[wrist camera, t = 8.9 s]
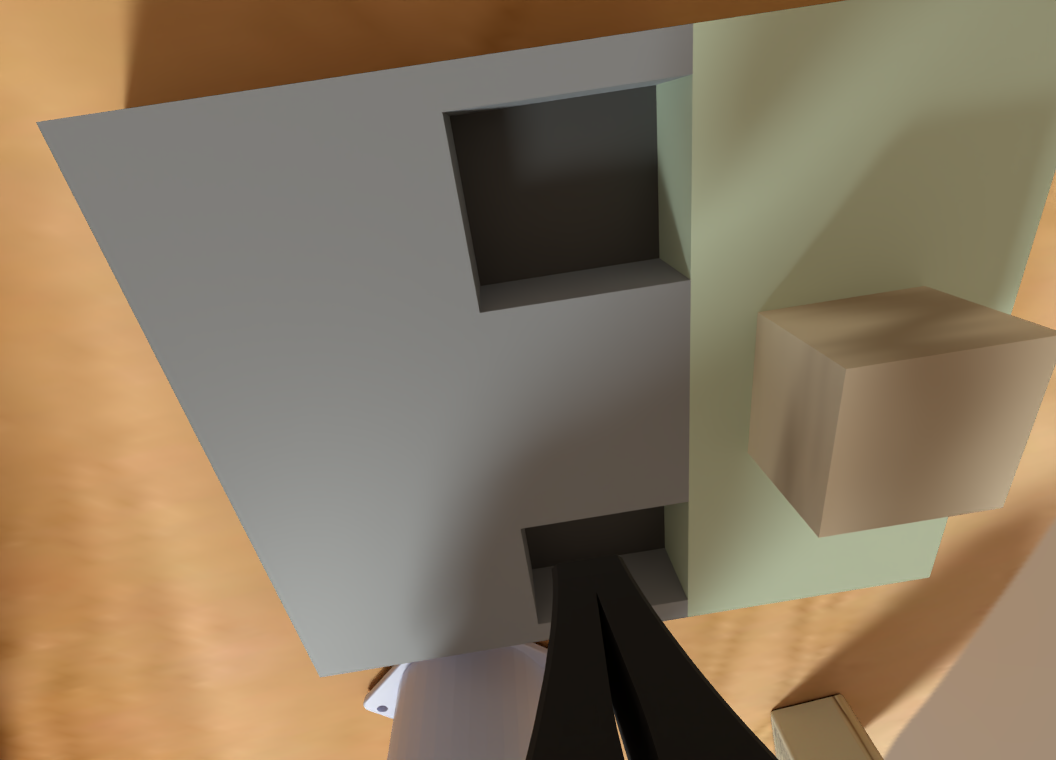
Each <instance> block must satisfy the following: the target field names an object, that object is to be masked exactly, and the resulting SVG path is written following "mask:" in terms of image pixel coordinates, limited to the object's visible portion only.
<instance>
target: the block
mask: <svg viewBox="0 0 1056 760" xmlns="http://www.w3.org/2000/svg"><path fill="white" fill-rule="evenodd" d="M1055 364H1056V330H1053V329H1050V328H1047V327H1044V326H1041V325H1038V324H1036V323H1033V322H1030V321H1027V320H1024V319H1021V318H1018V317H1015V316H1012V315H1009V314H1006V313H1003V312H1000V311H997V310H994V309H991V308H989V307H986V306H983V305H980V304H977V303H974V302H971V301H968V300H965V299H962V298H959V297H956V296H953V295H950V294H947V293H944V292H942V291H939V290H936V289H933V288H930V287H927V286H921V287H914V288H908V289H902V290H895V291H889V292H883V293H876V294H870V295H864V296H857V297H851V298H845V299H838V300H832V301H826V302H819V303H813V304H807V305H800V306H794V307H788V308H781V309H775V310H769V311H762V312H758V315H757V329H756V343H755V357H754V371H753V385H752V399H751V413H750V427H749V441H748V454H749V455H750V456H751V457H752V458H753V460H754V461H755V462H756V463H757V464H758V466H759V467H760V468H761V469H762V470H763V472H764V473H765V474H766V475H767V476H768V478H769V479H770V480H771V481H772V482H773V484H774V485H775V486H776V487H777V488H778V490H779V491H780V492H781V493H782V494H783V496H784V497H785V498H786V499H787V500H788V502H789V503H790V504H791V505H792V506H793V508H794V509H795V510H796V511H797V512H798V514H799V515H800V516H801V517H802V518H803V520H804V521H805V522H806V523H807V524H808V526H809V527H810V528H811V529H812V530H813V532H814V533H815V534H816V535H817V536H818V538H821V537H827V536H833V535H839V534H845V533H852V532H858V531H864V530H870V529H876V528H882V527H888V526H894V525H901V524H907V523H913V522H919V521H925V520H931V519H937V518H943V517H950V516H956V515H962V514H968V513H974V512H980V511H986V510H993V509H999V508H1003V506H1004V503H1005V500H1006V498H1007V495H1008V492H1009V489H1010V487H1011V484H1012V481H1013V479H1014V476H1015V473H1016V470H1017V468H1018V465H1019V462H1020V459H1021V457H1022V454H1023V451H1024V449H1025V446H1026V443H1027V440H1028V438H1029V435H1030V432H1031V430H1032V427H1033V424H1034V421H1035V419H1036V416H1037V413H1038V410H1039V408H1040V405H1041V402H1042V400H1043V397H1044V394H1045V391H1046V389H1047V386H1048V383H1049V381H1050V378H1051V375H1052V372H1053V370H1054V367H1055Z"/></svg>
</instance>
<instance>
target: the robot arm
mask: <svg viewBox="0 0 1056 760" xmlns="http://www.w3.org/2000/svg"><path fill="white" fill-rule="evenodd" d="M552 579H553V603H552V617H551V628H550V636H549V643H548V649H547V648H544V647H542V646H540V645H537V644H535V643H527V644H520V645H514V646H508V647H502V648H496V649H490V650H484V651H478V652H472V653H466V654H459V655H453V656H447V657H441V658H435V659H429V660H423V661H417V662H411V663H405V664H398V665H394V666H393V667H392V668H391V669H390V670H389V671H388V672H387V673H386V674H385V676H384V677H383V678H382V679H381V680H380V681H379V682H378V683H377V684H376V685H375V686H374V687H373V689H372V690H371V691H370V692H369V693H368V694H367V695H366V696H365V699H364V707H365V708H366V709H367V710H369V711H372V712H375V713H378V714H381V715H384V716H386V717H389V718H392V719H393V726H392V732H391V739H390V745H389V751H388V758H387V760H624V756H623V752H622V748H621V744H620V740H619V736H618V731H617V727H616V722H615V717H616V721H617V724H618V728H619V731H620V734H621V738H622V741H623V744H624V748H625V751H626V754H627V758H628V760H778V759H777V758H776V757H775V755H774V754H773V753H772V752H771V751H770V750H769V749H768V748H767V747H766V746H765V745H764V744H763V743H762V742H761V740H760V739H759V738H758V737H757V736H756V735H755V734H754V733H753V732H752V731H751V730H750V729H749V728H748V726H747V725H746V724H745V723H744V722H743V721H742V720H741V719H740V717H739V716H738V715H737V714H736V713H735V712H734V711H733V710H732V708H731V707H730V706H729V705H728V704H727V703H726V701H725V700H724V699H723V698H722V697H721V696H720V694H719V693H718V692H717V691H716V690H715V688H714V687H713V686H712V685H711V684H710V682H709V681H708V680H707V679H706V678H705V676H704V675H703V674H702V673H701V672H700V670H699V669H698V668H697V666H696V665H695V664H694V663H693V661H692V660H691V659H690V658H689V656H688V655H687V654H686V652H685V651H684V650H683V648H682V647H681V646H680V645H679V643H678V642H677V641H676V639H675V638H674V637H673V635H672V634H671V633H670V631H669V630H668V629H667V627H666V626H665V624H664V623H663V622H662V620H661V619H660V617H659V616H658V615H657V613H656V612H655V610H654V609H653V607H652V606H651V604H650V603H649V601H648V600H647V598H646V597H645V595H644V594H643V592H642V591H641V589H640V588H639V586H638V584H637V583H636V581H635V580H634V578H633V576H632V574H631V573H630V571H629V569H628V568H627V566H626V564H625V562H624V560H623V558H622V557H620V556H619V555H617V554H615V555H609V556H602V557H596V558H590V559H584V560H577V561H571V562H565V563H558V564H556V565H555V566H554V567H553V568H552ZM614 714H615V716H614Z"/></svg>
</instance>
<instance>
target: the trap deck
mask: <svg viewBox="0 0 1056 760" xmlns="http://www.w3.org/2000/svg"><path fill="white" fill-rule="evenodd" d="M692 74H693V24H686V25H679V26H673V27H666V28H660V29H653V30H646V31H640V32H633V33H626V34H620V35H613V36H606V37H600V38H593V39H586V40H580V41H573V42H566V43H560V44H553V45H547V46H540V47H533V48H527V49H520V50H513V51H507V52H500V53H493V54H487V55H480V56H473V57H467V58H460V59H453V60H447V61H440V62H434V63H427V64H420V65H414V66H407V67H400V68H394V69H387V70H380V71H374V72H367V73H360V74H354V75H347V76H341V77H334V78H327V79H321V80H314V81H307V82H301V83H294V84H287V85H281V86H274V87H267V88H261V89H254V90H247V91H241V92H234V93H228V94H221V95H214V96H208V97H201V98H194V99H188V100H181V101H174V102H168V103H161V104H154V105H148V106H141V107H134V108H128V109H121V110H115V111H108V112H101V113H95V114H88V115H81V116H75V117H68V118H61V119H55V120H48V121H41V122H36V123H37V125H38V127H39V129H40V131H41V133H42V135H43V137H44V139H45V141H46V143H47V145H48V146H49V148H50V150H51V152H52V154H53V156H54V158H55V160H56V162H57V164H58V166H59V168H60V170H61V172H62V174H63V176H64V178H65V180H66V182H67V184H68V186H69V188H70V189H71V191H72V193H73V195H74V197H75V199H76V201H77V203H78V205H79V207H80V209H81V211H82V213H83V215H84V217H85V219H86V221H87V223H88V225H89V227H90V229H91V231H92V232H93V234H94V236H95V238H96V240H97V242H98V244H99V246H100V248H101V250H102V252H103V254H104V256H105V258H106V260H107V262H108V264H109V266H110V268H111V270H112V272H113V274H114V276H115V277H116V279H117V281H118V283H119V285H120V287H121V289H122V291H123V293H124V295H125V297H126V299H127V301H128V303H129V305H130V307H131V309H132V311H133V313H134V315H135V317H136V319H137V320H138V322H139V324H140V326H141V328H142V330H143V332H144V334H145V336H146V338H147V340H148V342H149V344H150V346H151V348H152V350H153V352H154V354H155V356H156V358H157V360H158V362H159V363H160V365H161V367H162V369H163V371H164V373H165V375H166V377H167V379H168V381H169V383H170V385H171V387H172V389H173V391H174V393H175V395H176V397H177V399H178V401H179V403H180V405H181V407H182V408H183V410H184V412H185V414H186V416H187V418H188V420H189V422H190V424H191V426H192V428H193V430H194V432H195V434H196V436H197V438H198V440H199V442H200V444H201V446H202V448H203V450H204V451H205V453H206V455H207V457H208V459H209V461H210V463H211V465H212V467H213V469H214V471H215V473H216V475H217V477H218V479H219V481H220V483H221V485H222V487H223V489H224V491H225V493H226V494H227V496H228V498H229V500H230V502H231V504H232V506H233V508H234V510H235V512H236V514H237V516H238V518H239V520H240V522H241V524H242V526H243V528H244V530H245V532H246V534H247V536H248V538H249V539H250V541H251V543H252V545H253V547H254V549H255V551H256V553H257V555H258V557H259V559H260V561H261V563H262V565H263V567H264V569H265V571H266V573H267V575H268V577H269V579H270V581H271V582H272V584H273V586H274V588H275V590H276V592H277V594H278V596H279V598H280V600H281V602H282V604H283V606H284V608H285V610H286V612H287V614H288V616H289V618H290V620H291V622H292V624H293V625H294V627H295V629H296V631H297V633H298V635H299V637H300V639H301V641H302V643H303V645H304V647H305V649H306V651H307V653H308V655H309V657H310V659H311V661H312V663H313V665H314V667H315V669H316V670H317V672H318V674H319V676H320V677H325V676H331V675H337V674H344V673H350V672H356V671H362V670H368V669H374V668H380V667H386V666H392V665H398V664H405V663H411V662H417V661H423V660H429V659H435V658H441V657H447V656H453V655H459V654H466V653H472V652H478V651H484V650H490V649H496V648H502V647H508V646H514V645H520V644H527V643H533V642H539V641H545V640H549V636H550V628H551V617H552V603H553V579H552V568H553V567H554V566H555V565H556V564H558V563H565V562H571V561H577V560H584V559H590V558H596V557H602V556H609V555H615V554H617V555H619V556H620V557H622V558H623V560H624V562H625V564H626V566H627V568H628V569H629V571H630V573H631V574H632V576H633V578H634V580H635V581H636V583H637V584H638V586H639V588H640V589H641V591H642V592H643V594H644V595H645V597H646V598H647V600H648V601H649V603H650V604H651V606H652V607H653V609H654V610H655V612H656V613H657V615H658V616H659V617H660V619H661V620H662V621H667V620H673V619H679V618H685V617H688V599H687V597H686V595H685V592H684V590H683V588H682V586H681V583H680V581H679V579H678V576H677V574H676V572H675V570H674V567H673V565H672V563H671V560H670V558H669V556H668V554H667V551H666V549H665V523H664V506H665V505H671V504H677V503H683V502H689V422H690V313H691V280H690V279H689V278H687V277H686V276H684V275H683V274H682V273H680V272H679V271H677V270H676V269H674V268H673V267H671V266H670V265H669V264H667V263H666V262H664V261H663V260H661V259H660V258H659V205H658V152H657V99H656V85H658V84H661V83H664V82H668V81H671V80H675V79H678V78H681V77H685V76H688V75H692Z"/></svg>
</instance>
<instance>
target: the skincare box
mask: <svg viewBox="0 0 1056 760" xmlns="http://www.w3.org/2000/svg"><path fill="white" fill-rule="evenodd" d="M771 721H772V730H773V737H774V744H775V751H776V757H777V759H778V760H884V759H883V758H882V756H881V755H880V753H879V751H878V750H877V748H876V747H875V745H874V744H873V742H872V740H871V739H870V737H869V736H868V734H867V733H866V731H865V729H864V728H863V726H862V725H861V723H860V721H859V720H858V718H857V717H856V715H855V714H854V712H853V710H852V709H851V707H850V706H849V704H848V703H847V701H846V699H845V698H844V696H843V695H841V694H840V695H835V696H832V697H827V698H824V699H819V700H815V701H811V702H807V703H803V704H799V705H795V706H791V707H786V708H782V709H778V710H774V711H772V712H771Z"/></svg>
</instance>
